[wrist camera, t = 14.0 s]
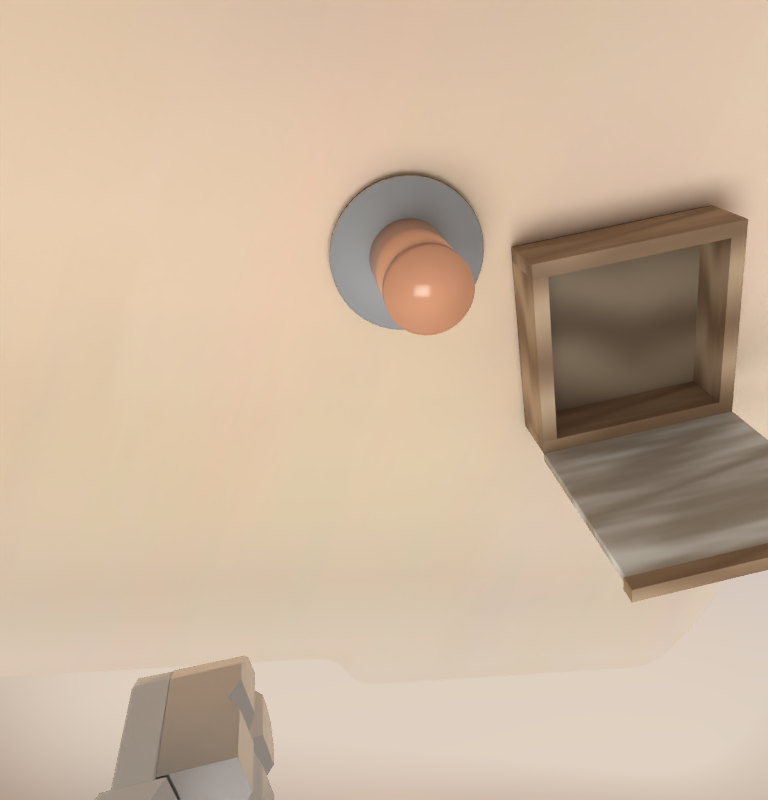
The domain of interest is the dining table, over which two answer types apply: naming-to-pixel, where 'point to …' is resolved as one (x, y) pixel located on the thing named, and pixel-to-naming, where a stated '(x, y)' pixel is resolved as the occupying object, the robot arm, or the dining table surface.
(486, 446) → the dining table surface
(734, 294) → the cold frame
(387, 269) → the orange cylinder
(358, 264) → the grey flat disc
